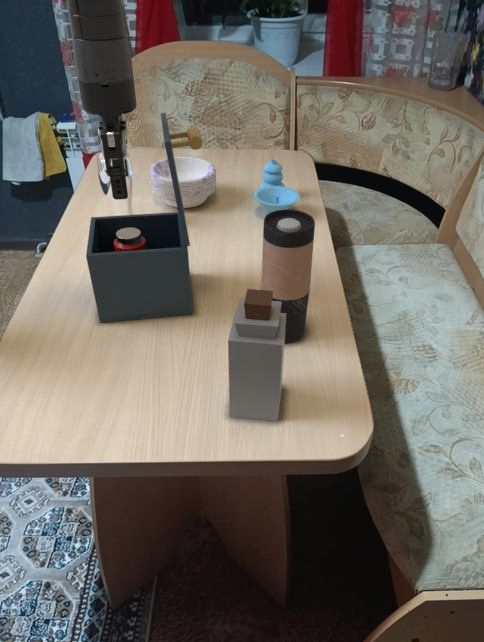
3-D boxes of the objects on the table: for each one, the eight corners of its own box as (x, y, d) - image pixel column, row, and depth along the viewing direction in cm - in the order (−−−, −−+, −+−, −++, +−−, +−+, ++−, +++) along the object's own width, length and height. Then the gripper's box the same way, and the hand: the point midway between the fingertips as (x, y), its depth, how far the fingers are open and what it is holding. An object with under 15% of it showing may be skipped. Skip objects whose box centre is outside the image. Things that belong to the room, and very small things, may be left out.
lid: (164, 142, 75) (203, 136, 75) (160, 113, 85) (194, 108, 86) (185, 246, 85) (218, 241, 86) (179, 209, 96) (209, 204, 96)
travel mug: (296, 314, 95) (304, 206, 82) (312, 340, 89) (324, 228, 76) (254, 321, 93) (256, 212, 80) (268, 348, 87) (272, 235, 75)
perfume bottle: (236, 383, 81) (235, 280, 69) (281, 387, 80) (288, 284, 69) (229, 416, 75) (227, 310, 64) (278, 420, 75) (284, 315, 64)
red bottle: (116, 296, 96) (105, 235, 89) (134, 283, 100) (125, 223, 92) (140, 305, 94) (131, 243, 87) (157, 290, 98) (150, 230, 90)
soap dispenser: (301, 223, 122) (304, 184, 116) (255, 224, 121) (255, 185, 115) (291, 190, 136) (293, 154, 130) (249, 191, 135) (250, 154, 129)
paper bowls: (222, 210, 126) (221, 177, 121) (156, 216, 123) (152, 182, 118) (211, 185, 137) (209, 153, 132) (150, 189, 134) (146, 157, 129)
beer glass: (107, 231, 117) (95, 162, 107) (106, 217, 122) (95, 150, 112) (140, 228, 118) (131, 160, 108) (138, 215, 123) (129, 148, 114)
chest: (100, 323, 91) (85, 256, 83) (103, 280, 102) (91, 217, 94) (192, 314, 94) (187, 248, 86) (186, 273, 104) (181, 211, 96)
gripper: (80, 61, 79) (98, 170, 89) (72, 87, 68) (94, 208, 79) (132, 61, 80) (144, 169, 91) (133, 86, 69) (146, 205, 80)
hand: (121, 187), depth 85 cm, fingers open, 8 cm apart
